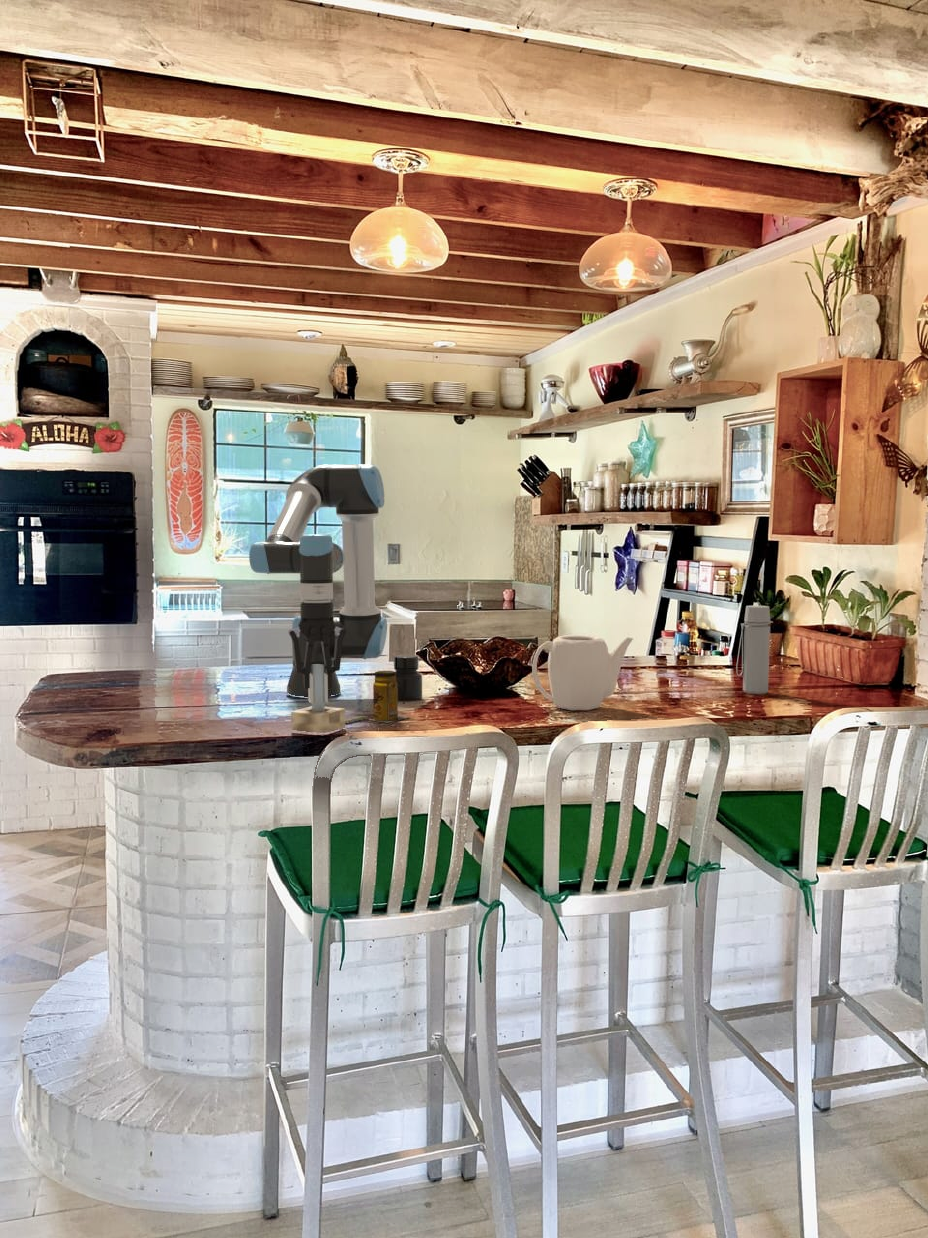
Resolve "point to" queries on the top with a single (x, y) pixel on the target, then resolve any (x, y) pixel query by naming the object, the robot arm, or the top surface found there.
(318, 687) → the white peg
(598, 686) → the watering can
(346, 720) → the lace
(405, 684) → the ink bottle
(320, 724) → the tan hollow square block
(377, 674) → the condiment
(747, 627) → the water bottle
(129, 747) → the top surface
